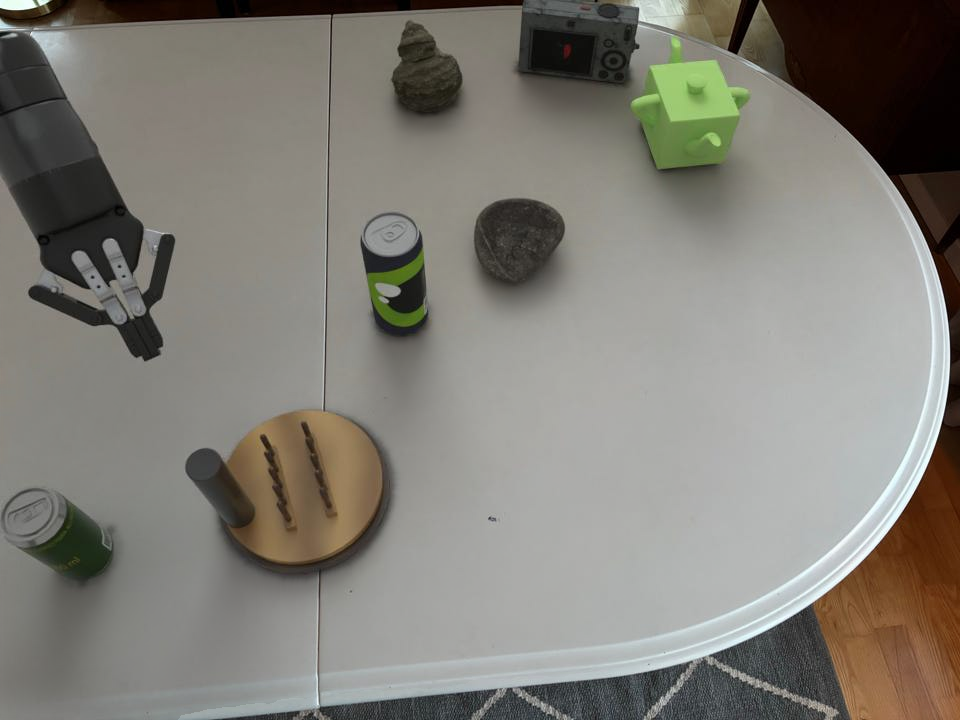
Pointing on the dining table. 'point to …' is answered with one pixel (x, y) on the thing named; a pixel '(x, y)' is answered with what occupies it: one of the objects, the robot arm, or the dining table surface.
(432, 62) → the seashell
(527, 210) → the stone
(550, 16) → the camera
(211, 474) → the dish rack
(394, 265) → the beverage can
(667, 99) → the teapot
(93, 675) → the dining table surface
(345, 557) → the base
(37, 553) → the beer can
